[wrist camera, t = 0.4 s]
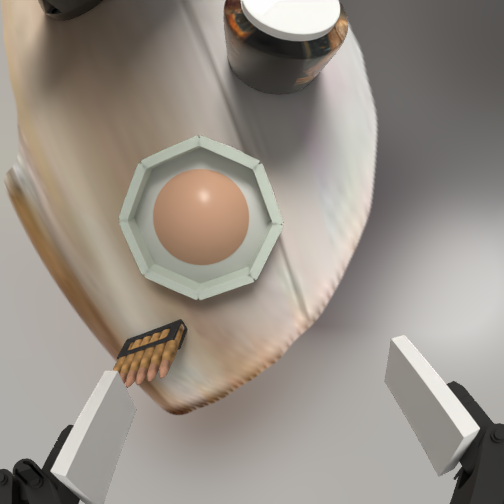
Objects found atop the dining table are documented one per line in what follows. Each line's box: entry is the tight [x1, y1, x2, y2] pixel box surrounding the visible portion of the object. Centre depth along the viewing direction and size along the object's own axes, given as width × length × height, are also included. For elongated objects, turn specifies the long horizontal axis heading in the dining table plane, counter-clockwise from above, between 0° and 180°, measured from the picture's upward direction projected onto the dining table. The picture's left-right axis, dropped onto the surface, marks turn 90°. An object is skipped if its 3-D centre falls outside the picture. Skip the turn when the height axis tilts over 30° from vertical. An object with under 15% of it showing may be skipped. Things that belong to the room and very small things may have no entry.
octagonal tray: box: [119, 135, 284, 300], centre depth 35 cm, size 19×19×4 cm
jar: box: [224, 0, 348, 94], centre depth 24 cm, size 12×12×15 cm
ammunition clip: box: [113, 320, 187, 388], centre depth 36 cm, size 11×2×12 cm, turn 114°
